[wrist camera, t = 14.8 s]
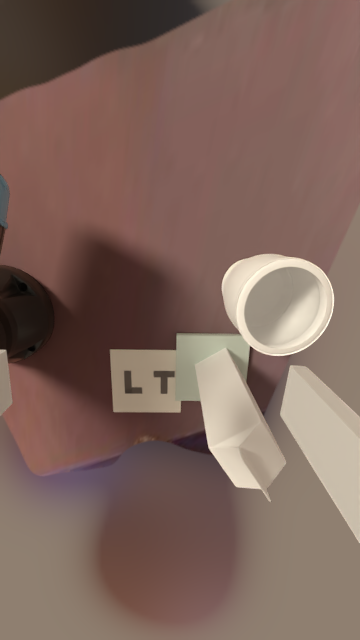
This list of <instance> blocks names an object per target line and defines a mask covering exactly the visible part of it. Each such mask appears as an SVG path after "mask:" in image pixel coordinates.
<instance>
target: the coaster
mask: <svg viewBox="0 0 360 640" xmlns="http://www.w3.org/2000/svg"><path fill="white" fill-rule="evenodd" d="M224 348H227V350H228V352H229V353H230V355H231V357H232V358H233V360H234V362H235V363H236V365H237V367H238V368H239V370H240V372H241V373H242V375H243V377H244V379H245V381H246V380H247V370H248V360H249V350H250V345H249V344H248V343H247V342H246V341H245V340H244V339H243V337H242V335H241V334H201V333H177V337H176V391H175V401H201V400H200V394H199V388H198V382H197V376H196V370H195V364H197V363H199V362H200V361H202V360H204V359H206V358H208V357H209V356H211V355H213V354H215V353H217V352H218V351H220V350H222V349H224Z"/></svg>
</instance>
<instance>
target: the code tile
mask: <svg viewBox="0 0 360 640" xmlns="http://www.w3.org/2000/svg"><path fill="white" fill-rule="evenodd" d="M110 361H111V379H112V397H113V412H181V401H175V391H176V350H129V349H110Z"/></svg>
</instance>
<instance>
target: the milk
mask: <svg viewBox="0 0 360 640" xmlns="http://www.w3.org/2000/svg"><path fill="white" fill-rule="evenodd" d="M195 370H196V376H197V382H198V388H199V394H200V400H201V406H202V412H203V418H204V424H205V430H206V436H207V442H208V448H209V449H210V451H211V452H212V454H213V455H214V457H215V458H216V459H217V461H218V462H219V463H220V465H221V466H222V468H223V469H224V471H225V472H226V474H227V475H228V476H229V478H230V479H231V481H232V482H233V484H234V485H235V486H236V487H241V488H252V489H261V490H262V491H263V493H264V494H265V496H266V497H267V499H268V500H269V502H271V499H270V497H269V494H268V491H267V489H268V487H269V486H270V484H271V483H272V482H273V481H274V479H275V478H276V477H277V475H278V474H279V473H280V471H281V470H282V469H283V467H284V466H285V465H286V460H285V458H284V456H283V454H282V452H281V450H280V448H279V446H278V444H277V442H276V440H275V438H274V436H273V434H272V432H271V430H270V428H269V427H268V424H267V423H266V421H265V418H264V416H263V415H262V413H261V411H260V409H259V407H258V405H257V403H256V401H255V399H254V397H253V395H252V393H251V391H250V389H249V387H248V385H247V383H246V381H245V379H244V377H243V375H242V373H241V372H240V370H239V368H238V367H237V365H236V363H235V362H234V360H233V358H232V357H231V355H230V353H229V352H228V350H227V348H224V349H222V350H220V351H218V352H217V353H215V354H213V355H211V356H209V357H208V358H206V359H204V360H202V361H200V362H199V363H197V364H195Z"/></svg>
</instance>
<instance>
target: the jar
mask: <svg viewBox="0 0 360 640" xmlns="http://www.w3.org/2000/svg"><path fill="white" fill-rule="evenodd" d="M222 295H223V298H224V305H225V309H226V312H227V315H228V317H229V318H230V320H231V322H232V323H233V325H234V326H235V327H236V328H237V329H238V330H239V332H240V334H241V335H242V337H243V339H244V340H245V341H246V342H247V343H248V344H249V345H250V346H251V347H252V348H254V349H255V350H257V351H259V352H261V353H264V354H267V355H273V356H284V355H290V354H294V353H297V352H299V351H301V350H303V349H305V348H307V347H308V346H310V345H311V344H312V343H314V342H315V341H316V340H317V339H318V338H319V337H320V336H321V335H322V333H323V332H324V330H325V329H326V327H327V326H328V324H329V321H330V319H331V316H332V312H333V307H334V295H333V289H332V286H331V283H330V281H329V279H328V277H327V276H326V275H325V273H324V272H323V271H322V270H321V269H320V268H319V267H317V266H316V265H314V264H313V263H311V262H309V261H306V260H304V259H300V258H295V257H286V256H283V255H278V254H262V255H257V256H253V257H251V258H247V259H242V260H240V261H238V262H236V263H234V264H233V265H232V266H231V267H230V268H229V269H228V270H227V272H226V273H225V275H224V278H223V281H222Z"/></svg>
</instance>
